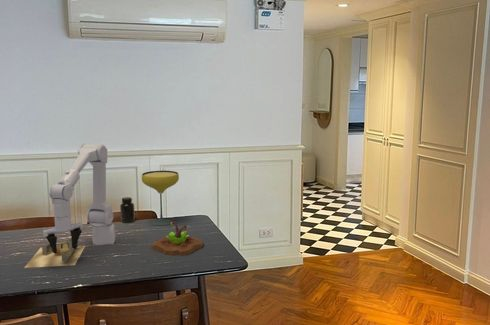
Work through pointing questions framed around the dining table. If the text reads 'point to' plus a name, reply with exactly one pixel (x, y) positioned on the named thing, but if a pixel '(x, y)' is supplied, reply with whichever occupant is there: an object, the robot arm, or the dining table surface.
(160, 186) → the cocktail glass
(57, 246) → the brown cylinder
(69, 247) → the press lever
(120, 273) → the dining table surface
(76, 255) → the board
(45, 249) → the gray block
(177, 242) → the plant
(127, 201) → the supplement bottle
